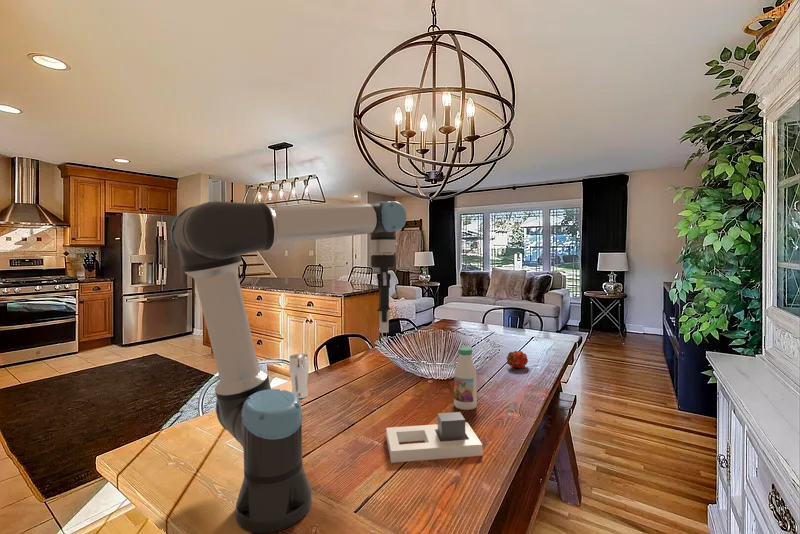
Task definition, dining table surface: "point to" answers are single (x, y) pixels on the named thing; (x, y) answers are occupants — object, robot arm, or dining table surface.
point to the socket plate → (429, 444)
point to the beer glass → (299, 374)
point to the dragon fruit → (517, 359)
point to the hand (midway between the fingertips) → (384, 332)
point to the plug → (451, 426)
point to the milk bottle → (465, 381)
